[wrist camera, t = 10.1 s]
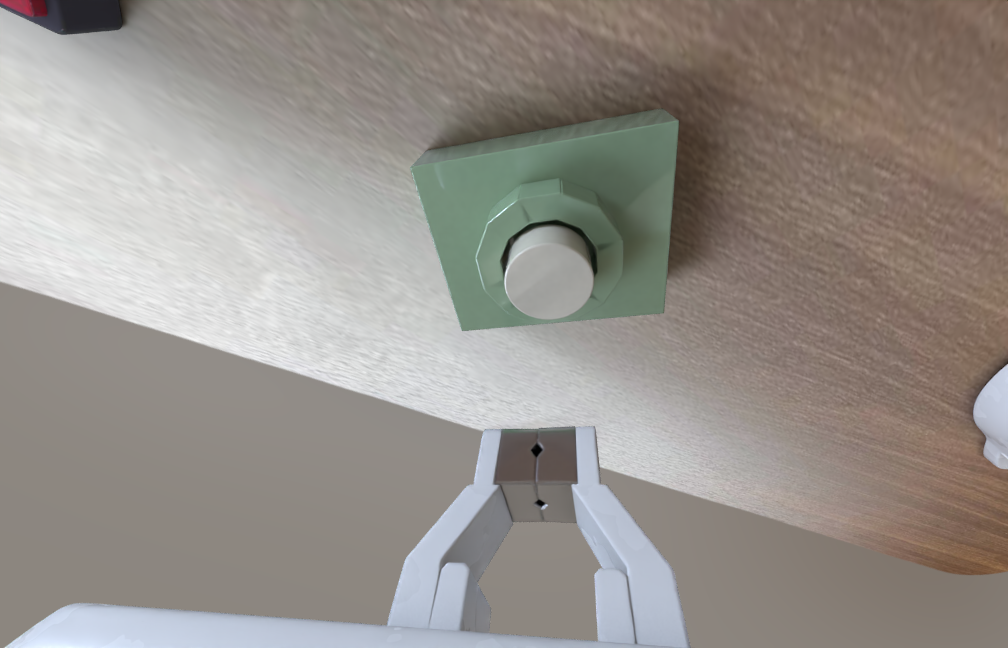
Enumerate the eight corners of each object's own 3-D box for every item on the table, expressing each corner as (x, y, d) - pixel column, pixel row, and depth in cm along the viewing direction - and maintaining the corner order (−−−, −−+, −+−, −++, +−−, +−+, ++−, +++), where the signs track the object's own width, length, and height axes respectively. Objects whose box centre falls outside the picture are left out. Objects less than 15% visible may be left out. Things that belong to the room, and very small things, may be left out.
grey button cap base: (663, 107, 18) (694, 131, 14) (653, 285, 24) (673, 336, 20) (425, 150, 21) (396, 181, 17) (469, 304, 26) (455, 353, 23)
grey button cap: (588, 217, 17) (592, 237, 16) (592, 292, 20) (596, 316, 18) (500, 229, 18) (496, 250, 16) (515, 300, 20) (512, 324, 19)
